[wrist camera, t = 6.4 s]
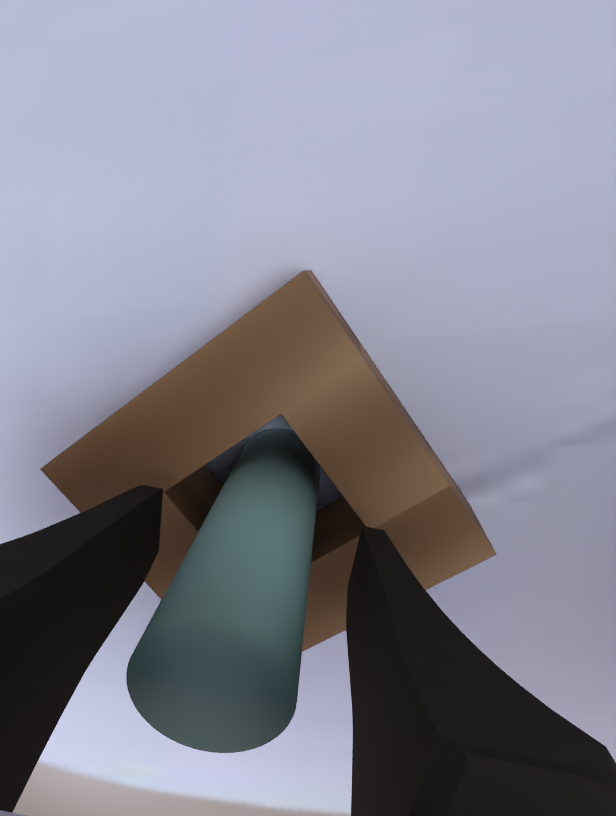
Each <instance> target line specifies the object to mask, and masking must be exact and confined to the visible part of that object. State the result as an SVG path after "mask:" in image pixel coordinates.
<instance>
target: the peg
mask: <svg viewBox="0 0 616 816" xmlns="http://www.w3.org/2000/svg"><path fill="white" fill-rule="evenodd" d="M319 479H320V465H319V463H318V462H317V461H316V459H315V458H314V457H313V455H312V454H311V453H310V451H309V450H308V449H307V447H306V446H305V445H304V443H303V442H302V441H301V440H300V438H299V437H298V436H297V434H296V433H295V432H294V431H291V430H287V429H269V430H265V431H263V432H260V433H258V434H256V435H255V436H254V437H252V438H251V439H250V440H249V441H248V442H247V444H246V445H245V447H244V448H243V450H242V452H241V454H240V456H239V458H238V460H237V461H236V463H235V465H234V467H233V469H232V471H231V473H230V474H229V476H228V478H227V480H226V482H225V484H224V485H223V487H222V489H221V491H220V493H219V495H218V497H217V498H216V500H215V502H214V504H213V506H212V508H211V510H210V511H209V513H208V515H207V517H206V519H205V521H204V522H203V524H202V526H201V528H200V530H199V532H198V534H197V535H196V537H195V539H194V541H193V543H192V545H191V547H190V548H189V550H188V552H187V554H186V556H185V558H184V560H183V561H182V563H181V565H180V567H179V569H178V571H177V572H176V574H175V576H174V578H173V580H172V582H171V584H170V585H169V587H168V589H167V591H166V593H165V595H164V597H163V598H162V600H161V602H160V604H159V606H158V608H157V609H156V611H155V613H154V615H153V617H152V619H151V621H150V622H149V624H148V626H147V628H146V630H145V632H144V634H143V635H142V637H141V639H140V641H139V643H138V645H137V647H136V648H135V650H134V652H133V654H132V656H131V658H130V661H129V663H128V668H127V687H128V691H129V694H130V697H131V700H132V701H133V703H134V705H135V707H136V709H137V710H138V712H139V713H140V714H141V716H142V717H143V718H144V719H145V720H146V721H147V722H148V723H149V724H150V725H151V726H152V727H153V728H155V729H156V730H157V731H159V732H160V733H161V734H163V735H165V736H166V737H168V738H170V739H171V740H173V741H176V742H178V743H180V744H182V745H185V746H188V747H191V748H194V749H198V750H202V751H208V752H218V753H233V752H241V751H246V750H251V749H254V748H257V747H260V746H262V745H264V744H266V743H268V742H270V741H271V740H273V739H274V738H276V737H277V736H278V735H279V734H281V733H282V732H283V731H284V730H285V728H286V727H287V726H288V725H289V723H290V721H291V719H292V717H293V715H294V712H295V709H296V703H297V694H298V684H299V674H300V664H301V655H302V645H303V635H304V625H305V616H306V606H307V596H308V586H309V577H310V567H311V557H312V547H313V538H314V528H315V518H316V508H317V499H318V489H319Z"/></svg>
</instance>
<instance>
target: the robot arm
mask: <svg viewBox="0 0 616 816" xmlns="http://www.w3.org/2000/svg"><path fill="white" fill-rule="evenodd" d="M162 498H163V489H162V488H157V487H151V486H146V485H140V486H137V487H135V488H132V489H130V490H128V491H126V492H124V493H122V494H120V495H118V496H115V497H113V498H111V499H109V500H107V501H105V502H103V503H101V504H99V505H97V506H95V507H92V508H90V509H88V510H86V511H84V512H82V513H80V514H77V515H75V516H73V517H70V518H68V519H66V520H63V521H61V522H59V523H56V524H54V525H51V526H49V527H47V528H44V529H42V530H39V531H37V532H34V533H32V534H29V535H26V536H23V537H21V538H18V539H15V540H12V541H9V542H6V543H3V544H0V816H26V815H21V814H16V813H12V812H13V810H14V808H15V806H16V804H17V802H18V800H19V798H20V796H21V794H22V792H23V790H24V788H25V786H26V784H27V781H28V780H29V778H30V776H31V773H32V771H33V769H34V767H35V765H36V763H37V761H38V759H39V757H40V756H41V754H42V752H43V750H44V748H45V746H46V744H47V742H48V740H49V738H50V736H51V734H52V732H53V730H54V728H55V727H56V725H57V723H58V721H59V719H60V717H61V715H62V713H63V711H64V709H65V708H66V706H67V704H68V702H69V700H70V698H71V696H72V695H73V693H74V691H75V689H76V687H77V685H78V683H79V682H80V680H81V678H82V676H83V674H84V673H85V671H86V669H87V668H88V666H89V665H90V663H91V661H92V660H93V658H94V656H95V655H96V653H97V652H98V650H99V649H100V647H101V646H102V644H103V643H104V641H105V640H106V638H107V637H108V635H109V634H110V632H111V631H112V629H113V628H114V627H115V625H116V624H117V622H118V621H119V619H120V618H121V616H122V615H123V613H124V612H125V610H126V609H127V607H128V606H129V604H130V603H131V601H132V599H133V598H134V596H135V595H136V593H137V592H138V590H139V589H140V587H141V586H142V584H143V582H144V580H145V578H146V576H147V575H148V573H149V571H150V569H151V567H152V564H153V562H154V560H155V558H156V556H157V554H158V552H159V542H160V528H161V513H162ZM346 630H347V644H348V658H349V671H350V684H351V697H352V714H353V759H352V803H351V816H616V763H615V761H614V759H613V758H612V756H611V754H610V753H609V751H608V750H607V748H606V747H605V746H604V745H603V744H601V743H600V742H598V741H597V740H595V739H594V738H592V737H591V736H589V735H588V734H586V733H585V732H584V731H582V730H581V729H579V728H578V727H576V726H575V725H573V724H572V723H570V722H569V721H567V720H566V719H564V718H563V717H562V716H560V715H559V714H557V713H556V712H554V711H553V710H552V709H550V708H549V707H547V706H546V705H545V704H544V703H542V702H541V701H540V700H538V699H537V698H536V697H535V696H533V695H532V694H531V693H529V692H528V691H527V690H525V689H524V688H523V687H522V686H520V685H519V684H518V683H517V682H516V681H514V680H513V679H512V678H511V677H509V676H508V675H507V674H506V673H505V672H504V671H502V670H501V669H500V668H499V667H498V666H497V665H496V664H495V663H493V662H492V661H491V660H490V659H489V658H488V657H487V656H486V655H485V654H483V653H482V652H481V651H480V650H479V649H478V648H477V647H476V646H475V645H474V644H473V643H472V642H471V641H470V640H469V639H468V638H467V637H466V636H465V635H464V634H463V633H462V632H461V631H460V630H459V629H458V628H457V627H456V626H455V625H454V624H453V622H452V621H451V620H450V619H449V618H448V617H447V616H446V615H445V614H444V613H443V611H442V610H441V609H440V608H439V607H438V605H437V604H436V603H435V602H434V600H433V599H432V598H431V597H430V596H429V594H428V593H427V592H426V591H425V589H424V588H423V587H422V585H421V584H420V583H419V581H418V580H417V578H416V577H415V576H414V574H413V573H412V571H411V570H410V569H409V567H408V566H407V564H406V563H405V561H404V560H403V558H402V557H401V555H400V554H399V552H398V550H397V549H396V547H395V546H394V544H393V543H392V541H391V540H390V538H389V537H388V535H387V533H386V532H385V530H381V529H376V528H371V527H365V526H362V528H361V532H360V537H359V541H358V545H357V549H356V553H355V558H354V562H353V566H352V570H351V574H350V579H349V583H348V588H347V608H346Z"/></svg>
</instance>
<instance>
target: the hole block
mask: <svg viewBox="0 0 616 816" xmlns="http://www.w3.org/2000/svg"><path fill="white" fill-rule="evenodd" d="M280 414H282V416H283V417H284V418H285V420H286V421H287V422H288V424H289V425H290V426H291V428H292V429H293V430H294V432H295V433H296V434H297V436H298V437H299V438H300V440H301V441H302V442H303V443H304V445H305V446H306V447H307V449H308V450H309V451H310V453H311V454H312V455H313V457H314V458H315V459H316V461H317V462H318V463H319V465H320V466H321V467H322V469H323V470H324V471H325V473H326V474H327V475H328V477H329V478H330V479H331V481H332V482H333V483H334V485H335V486H336V487H337V489H338V490H339V491H340V493H341V494H342V495H343V497H341V498H340V499H338V500H336V501H335V502H333V503H331V504H329V505H328V506H326V507H324V508H323V509H321V510H319V511H318V512H316V518H315V528H314V538H313V547H312V557H311V567H310V577H309V586H308V596H307V606H306V616H305V625H304V635H303V645H302V651H304V650H306V649H308V648H310V647H312V646H314V645H316V644H318V643H320V642H322V641H324V640H326V639H328V638H330V637H332V636H334V635H336V634H338V633H340V632H342V631H344V630H346V608H347V588H348V583H349V579H350V574H351V570H352V566H353V562H354V558H355V553H356V549H357V545H358V541H359V537H360V532H361V528H362V526H365V527H371V528H376V529H381V530H385V532H386V533H387V535H388V537H389V538H390V540H391V541H392V543H393V544H394V546H395V547H396V549H397V550H398V552H399V554H400V555H401V557H402V558H403V560H404V561H405V563H406V564H407V566H408V567H409V569H410V570H411V571H412V573H413V574H414V576H415V577H416V578H417V580H418V581H419V583H420V584H421V585H422V587H423V588H424V589H425V590H426V589H428V588H430V587H432V586H434V585H436V584H438V583H440V582H442V581H444V580H446V579H448V578H450V577H452V576H454V575H456V574H458V573H460V572H462V571H464V570H466V569H468V568H470V567H472V566H474V565H476V564H478V563H480V562H482V561H484V560H486V559H488V558H490V557H492V556H494V555H496V552H495V551H494V549H493V547H492V545H491V543H490V541H489V539H488V538H487V536H486V534H485V532H484V530H483V528H482V526H481V525H480V523H479V521H478V519H477V517H476V515H475V514H474V512H473V510H472V508H471V506H470V504H469V503H468V501H467V500H466V498H465V497H464V495H463V494H462V492H461V491H460V489H459V488H458V486H457V485H456V483H455V482H454V480H453V479H452V477H451V476H450V475H449V473H448V472H447V470H446V469H445V467H444V466H443V464H442V463H441V461H440V460H439V458H438V457H437V455H436V454H435V452H434V451H433V449H432V448H431V446H430V445H429V444H428V442H427V441H426V439H425V438H424V436H423V435H422V433H421V432H420V430H419V429H418V427H417V426H416V424H415V423H414V421H413V420H412V418H411V417H410V415H409V414H408V413H407V411H406V410H405V408H404V407H403V405H402V404H401V402H400V401H399V399H398V398H397V396H396V395H395V393H394V392H393V390H392V389H391V387H390V386H389V384H388V383H387V382H386V380H385V379H384V377H383V376H382V374H381V373H380V371H379V370H378V368H377V367H376V365H375V364H374V362H373V361H372V359H371V358H370V356H369V355H368V353H367V352H366V350H365V349H364V348H363V346H362V345H361V343H360V342H359V340H358V339H357V337H356V336H355V334H354V333H353V331H352V330H351V328H350V327H349V325H348V324H347V322H346V321H345V319H344V318H343V317H342V315H341V314H340V312H339V311H338V309H337V308H336V306H335V305H334V303H333V302H332V300H331V299H330V297H329V296H328V294H327V293H326V291H325V290H324V288H323V287H322V286H321V284H320V283H319V281H318V280H317V278H316V277H315V275H314V274H313V272H312V271H311V270H310V271H303V272H301V273H300V274H299V275H297V276H296V277H295V278H293V279H292V280H291V281H289V282H288V283H287V284H285V285H284V286H283V287H281V288H280V289H279V290H277V291H276V292H275V293H273V294H272V295H271V296H270V297H268V298H267V299H266V300H264V301H263V302H262V303H260V304H259V305H258V306H256V307H255V308H254V309H252V310H251V311H250V312H248V313H247V314H246V315H244V316H243V317H242V318H240V319H239V320H238V321H236V322H235V323H234V324H232V325H231V326H230V327H228V328H227V329H226V330H224V331H223V332H222V333H220V334H219V335H218V336H216V337H215V338H214V339H212V340H211V341H210V342H208V343H207V344H206V345H204V346H203V347H202V348H200V349H199V350H198V351H196V352H195V353H194V354H192V355H191V356H190V357H188V358H187V359H186V360H184V361H183V362H182V363H180V364H179V365H178V366H176V367H175V368H174V369H172V370H171V371H170V372H168V373H167V374H166V375H164V376H163V377H162V378H161V379H159V380H158V381H157V382H155V383H154V384H153V385H151V386H150V387H149V388H147V389H146V390H145V391H143V392H142V393H141V394H139V395H138V396H137V397H135V398H134V399H133V400H131V401H130V402H129V403H127V404H126V405H125V406H123V407H122V408H121V409H119V410H118V411H117V412H115V413H114V414H113V415H111V416H110V417H109V418H107V419H106V420H105V421H103V422H102V423H101V424H99V425H98V426H97V427H95V428H94V429H93V430H91V431H90V432H89V433H87V434H86V435H85V436H83V437H82V438H81V439H79V440H78V441H77V442H75V443H74V444H73V445H71V446H70V447H69V448H67V449H66V450H65V451H63V452H62V453H61V454H59V455H58V456H57V457H55V458H54V459H53V460H52V461H50V462H49V463H48V464H46V465H45V466H44V467H42V468H41V471H42V472H43V473H44V474H45V475H46V476H47V477H48V478H49V479H50V480H51V481H52V482H53V483H54V484H55V486H56V487H57V488H58V489H59V490H60V491H61V492H62V493H63V494H64V495H65V496H66V497H67V498H68V500H69V501H70V502H71V503H72V504H73V505H74V506H75V507H76V508H77V509H78V510H79V511H80V512H81V513H82V512H84V511H86V510H88V509H90V508H92V507H95V506H97V505H99V504H101V503H103V502H105V501H107V500H109V499H111V498H113V497H115V496H118V495H120V494H122V493H124V492H126V491H128V490H130V489H132V488H135V487H137V486H140V485H146V486H151V487H157V488H162V489H163V498H162V513H161V528H160V542H159V552H158V554H157V556H156V558H155V560H154V562H153V564H152V567H151V569H150V571H149V573H148V575H147V576H146V578H145V580H144V581H145V582H146V583H147V584H148V585H149V587H150V588H151V589H152V590H153V591H154V592H155V593H156V594H157V595H158V596H159V597H160V598H161V599H162V598H163V597H164V595H165V593H166V591H167V589H168V587H169V585H170V584H171V582H172V580H173V578H174V576H175V574H176V572H177V571H178V569H179V567H180V565H181V563H182V561H183V560H184V558H185V556H186V554H187V552H188V550H189V548H190V547H191V545H192V543H193V541H194V539H195V537H196V535H197V534H198V532H199V530H200V528H201V526H202V524H203V522H204V521H205V519H206V517H207V515H208V513H209V511H210V510H211V508H212V506H213V504H214V502H215V500H216V498H217V497H218V495H219V493H220V491H221V489H222V487H223V486H222V485H221V483H220V482H219V481H218V480H217V479H216V477H215V476H214V475H213V474H212V473H211V471H210V470H209V469H208V468H207V466H206V465H205V464H207V463H208V462H210V461H211V460H213V459H214V458H216V457H217V456H219V455H220V454H222V453H223V452H225V451H226V450H228V449H229V448H231V447H232V446H234V445H235V444H237V443H238V442H240V441H241V440H243V439H244V438H246V437H247V436H249V435H250V434H252V433H253V432H255V431H256V430H258V429H259V428H261V427H262V426H264V425H265V424H267V423H268V422H270V421H271V420H273V419H274V418H276V417H277V416H279V415H280Z"/></svg>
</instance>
